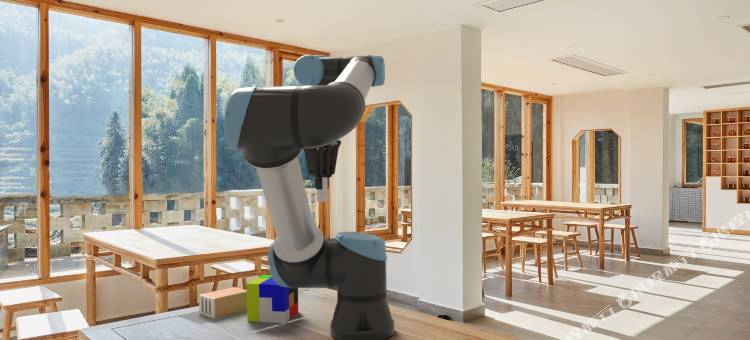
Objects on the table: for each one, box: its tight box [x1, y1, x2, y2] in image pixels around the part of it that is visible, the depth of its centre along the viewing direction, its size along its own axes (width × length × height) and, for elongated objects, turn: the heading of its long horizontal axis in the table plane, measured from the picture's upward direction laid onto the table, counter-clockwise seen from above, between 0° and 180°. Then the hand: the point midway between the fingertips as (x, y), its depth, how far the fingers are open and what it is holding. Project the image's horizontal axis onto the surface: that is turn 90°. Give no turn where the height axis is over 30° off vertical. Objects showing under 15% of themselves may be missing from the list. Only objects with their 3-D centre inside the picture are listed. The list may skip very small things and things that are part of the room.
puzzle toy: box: [246, 274, 299, 326], centre depth 143 cm, size 10×10×10 cm
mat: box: [177, 310, 247, 325], centre depth 147 cm, size 11×16×1 cm
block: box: [198, 286, 247, 318], centre depth 149 cm, size 7×5×11 cm
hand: (322, 201), depth 150 cm, fingers closed
